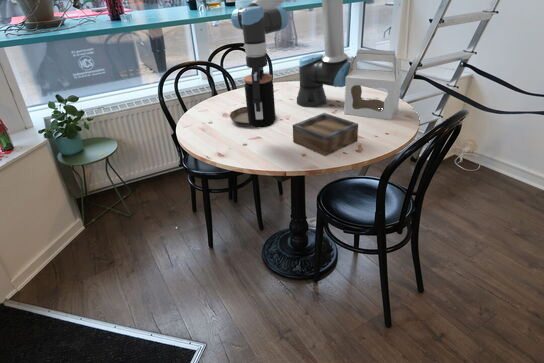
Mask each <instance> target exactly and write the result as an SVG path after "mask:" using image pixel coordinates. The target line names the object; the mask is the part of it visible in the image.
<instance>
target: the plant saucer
mask: <svg viewBox="0 0 544 363" xmlns="http://www.w3.org/2000/svg"><path fill="white" fill-rule="evenodd" d="M229 118H230V120H231V121H233V122H234V123H235V124H236V125H239V126H244V127H252V126H251V125H250V124H249V121H248V113H247V106H242V107H238V108H237V109H235V110H233V111H231V112H230V114H229Z"/></svg>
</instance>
